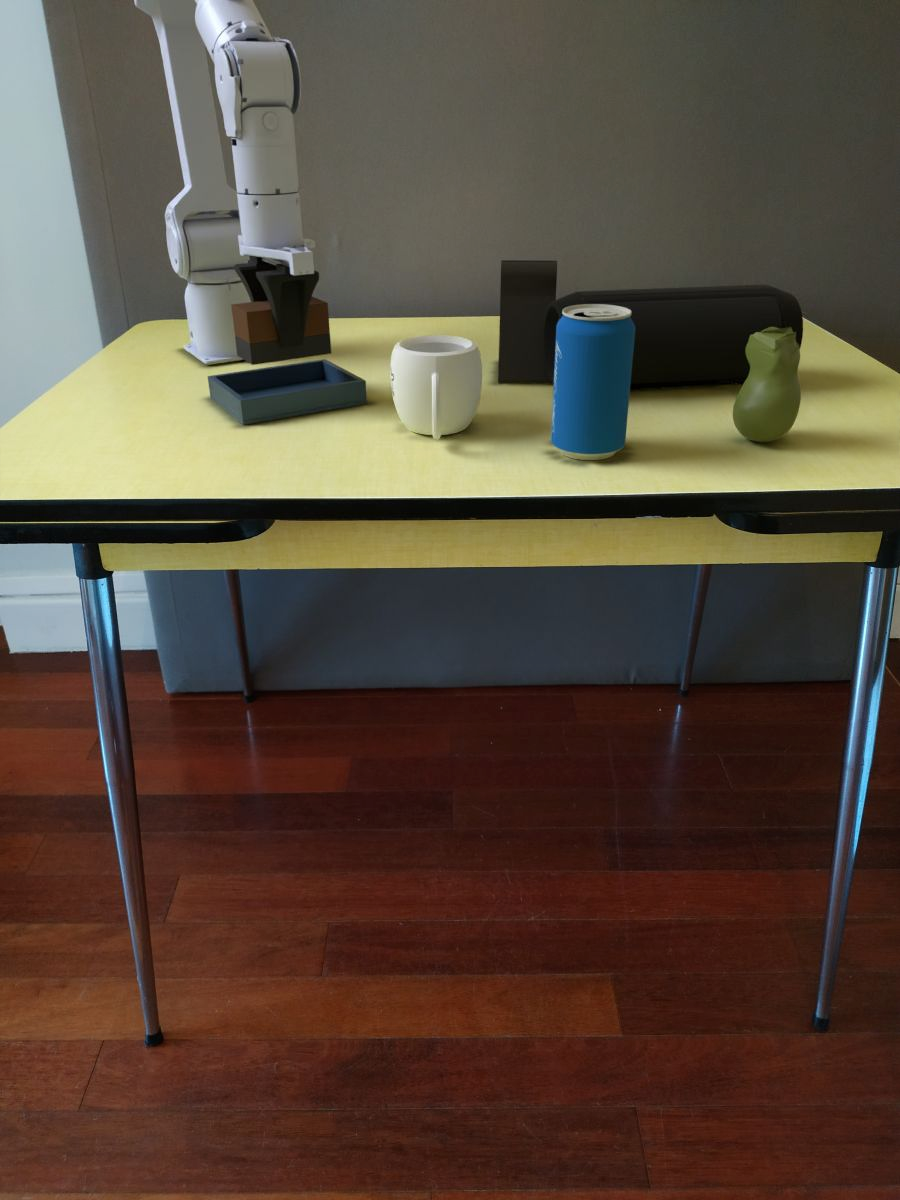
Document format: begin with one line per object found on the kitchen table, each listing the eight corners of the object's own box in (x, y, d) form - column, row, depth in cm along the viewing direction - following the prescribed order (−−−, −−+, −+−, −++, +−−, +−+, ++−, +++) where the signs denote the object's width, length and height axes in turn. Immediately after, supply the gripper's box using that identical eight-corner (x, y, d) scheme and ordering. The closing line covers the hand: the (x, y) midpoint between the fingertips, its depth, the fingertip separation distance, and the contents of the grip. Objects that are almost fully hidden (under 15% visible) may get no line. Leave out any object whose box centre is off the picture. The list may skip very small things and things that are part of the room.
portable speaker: (755, 367, 104) (770, 276, 99) (797, 391, 96) (815, 293, 91) (539, 378, 101) (542, 284, 96) (562, 404, 92) (568, 303, 87)
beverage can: (544, 439, 83) (550, 303, 77) (614, 437, 83) (625, 302, 78) (557, 464, 77) (565, 320, 71) (632, 461, 78) (646, 318, 72)
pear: (804, 446, 81) (826, 332, 76) (754, 453, 79) (773, 337, 74) (764, 427, 86) (782, 318, 81) (716, 434, 84) (732, 323, 79)
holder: (210, 398, 95) (207, 376, 94) (326, 380, 101) (325, 358, 100) (243, 425, 87) (240, 400, 86) (367, 403, 93) (366, 380, 92)
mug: (394, 414, 90) (391, 333, 86) (479, 413, 90) (480, 332, 86) (388, 456, 79) (384, 366, 76) (485, 455, 79) (486, 365, 76)
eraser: (237, 355, 91) (230, 304, 89) (314, 345, 95) (310, 295, 93) (252, 365, 88) (246, 312, 86) (331, 353, 92) (328, 302, 89)
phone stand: (552, 384, 99) (558, 268, 93) (497, 383, 99) (499, 268, 93) (551, 363, 107) (556, 254, 101) (500, 362, 107) (502, 254, 101)
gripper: (340, 196, 81) (349, 350, 87) (280, 184, 92) (292, 322, 98) (264, 200, 78) (280, 360, 84) (211, 188, 88) (229, 330, 95)
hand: (282, 340), depth 91 cm, fingers closed on eraser, 4 cm apart
